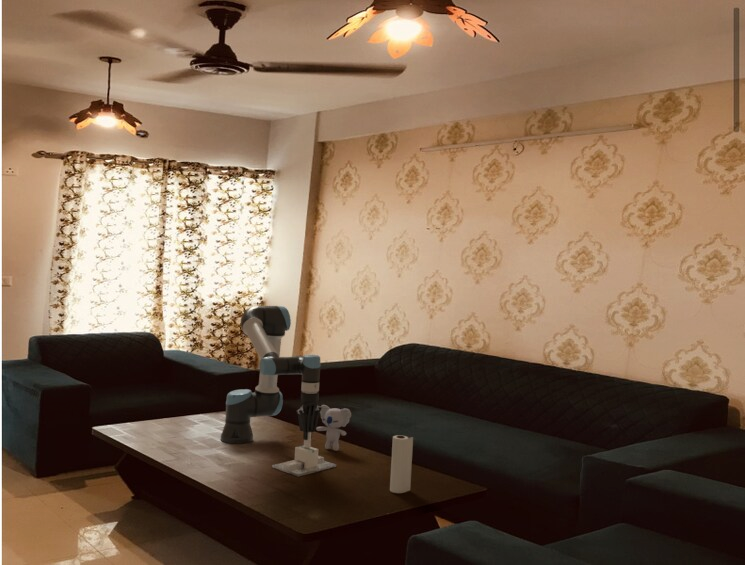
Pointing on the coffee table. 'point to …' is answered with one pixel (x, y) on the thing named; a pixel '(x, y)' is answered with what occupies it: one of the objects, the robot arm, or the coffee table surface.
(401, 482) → the paper towel roll
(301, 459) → the block
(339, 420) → the toy
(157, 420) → the coffee table surface
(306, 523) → the coffee table surface
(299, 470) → the grey flat board
